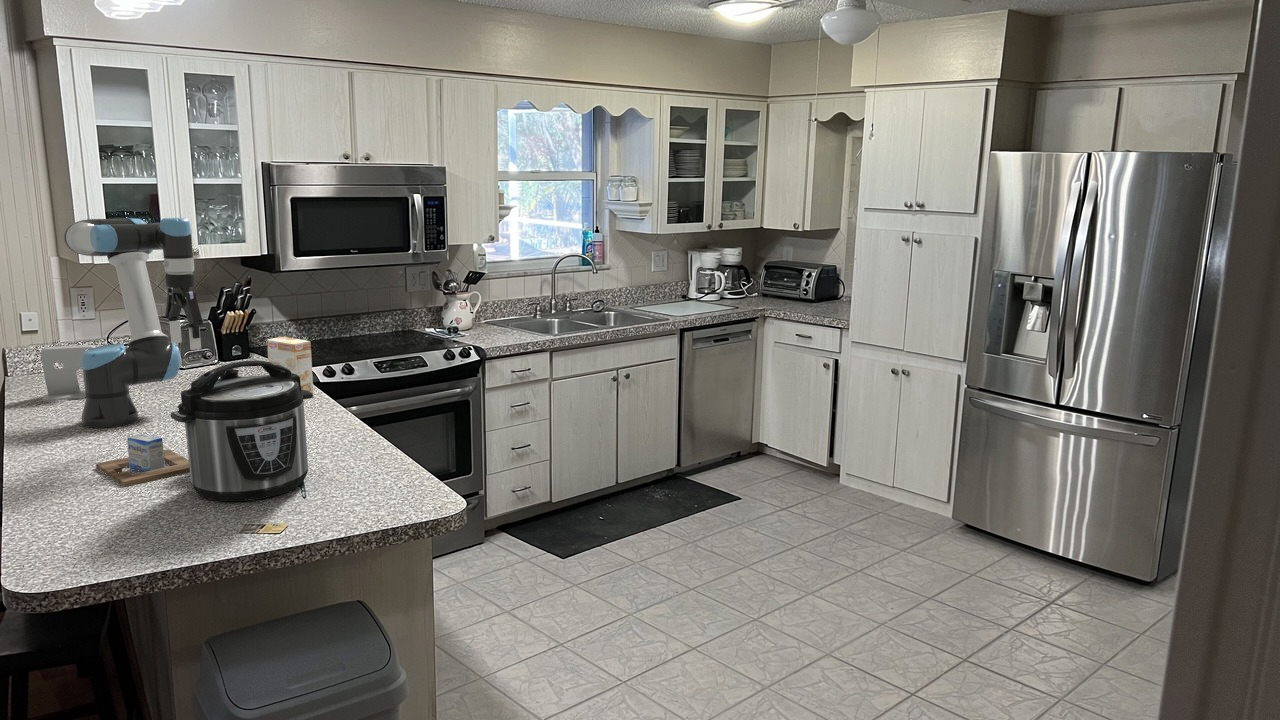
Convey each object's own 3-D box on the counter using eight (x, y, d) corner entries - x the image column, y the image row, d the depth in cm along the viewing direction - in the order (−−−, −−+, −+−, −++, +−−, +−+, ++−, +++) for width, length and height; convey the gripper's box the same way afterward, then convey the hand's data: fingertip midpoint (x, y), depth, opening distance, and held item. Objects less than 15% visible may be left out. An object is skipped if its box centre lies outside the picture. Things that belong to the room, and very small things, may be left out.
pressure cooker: (169, 511, 209) (157, 377, 202) (199, 472, 236) (188, 352, 229) (307, 503, 215) (299, 372, 209) (320, 465, 242) (313, 349, 236)
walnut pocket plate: (96, 468, 237) (95, 463, 237) (168, 453, 250) (168, 449, 250) (124, 486, 224) (123, 481, 224) (199, 469, 237) (198, 465, 237)
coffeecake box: (314, 396, 315) (311, 340, 311) (297, 400, 309) (293, 344, 305) (287, 389, 323) (283, 336, 319) (269, 393, 317) (265, 339, 313)
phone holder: (104, 390, 318) (99, 339, 314) (101, 396, 309) (96, 345, 305) (46, 394, 311) (40, 343, 307) (41, 401, 302) (35, 348, 298)
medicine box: (129, 469, 236) (125, 437, 235) (144, 464, 241) (141, 433, 239) (150, 473, 234) (147, 441, 232) (165, 468, 238) (162, 437, 236)
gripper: (148, 269, 263) (155, 341, 267) (184, 277, 247) (190, 354, 251) (175, 268, 268) (182, 338, 273) (212, 275, 252) (217, 350, 256)
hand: (186, 346), depth 262 cm, fingers open, 13 cm apart
